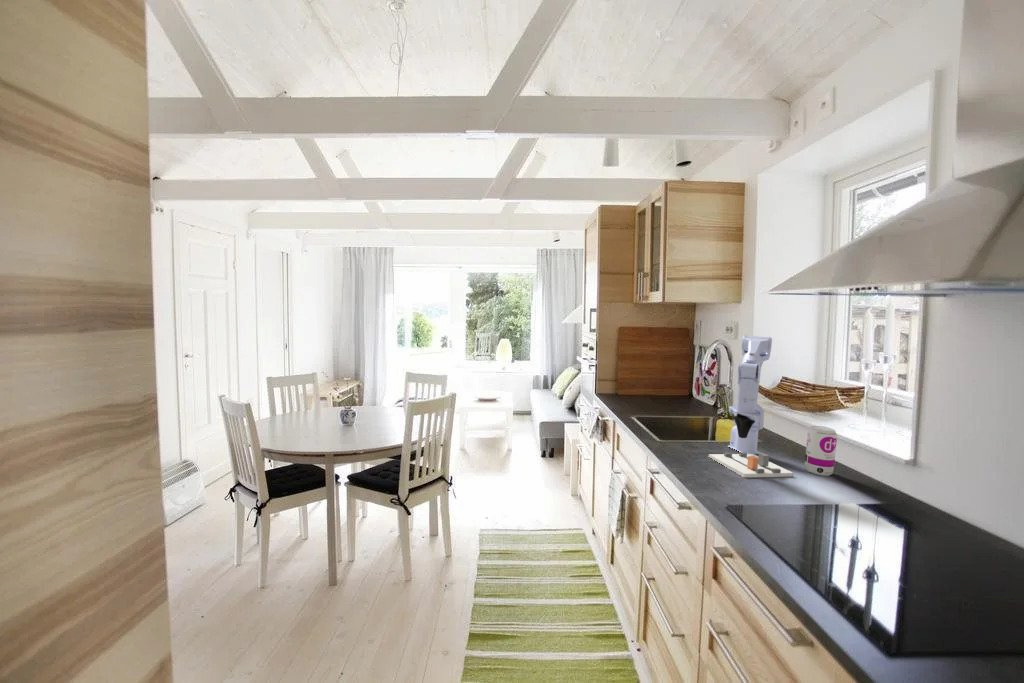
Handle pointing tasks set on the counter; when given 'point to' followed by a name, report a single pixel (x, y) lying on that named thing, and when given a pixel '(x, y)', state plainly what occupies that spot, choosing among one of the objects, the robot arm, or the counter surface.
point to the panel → (740, 467)
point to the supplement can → (820, 450)
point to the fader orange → (752, 462)
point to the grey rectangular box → (763, 459)
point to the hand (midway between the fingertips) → (742, 437)
